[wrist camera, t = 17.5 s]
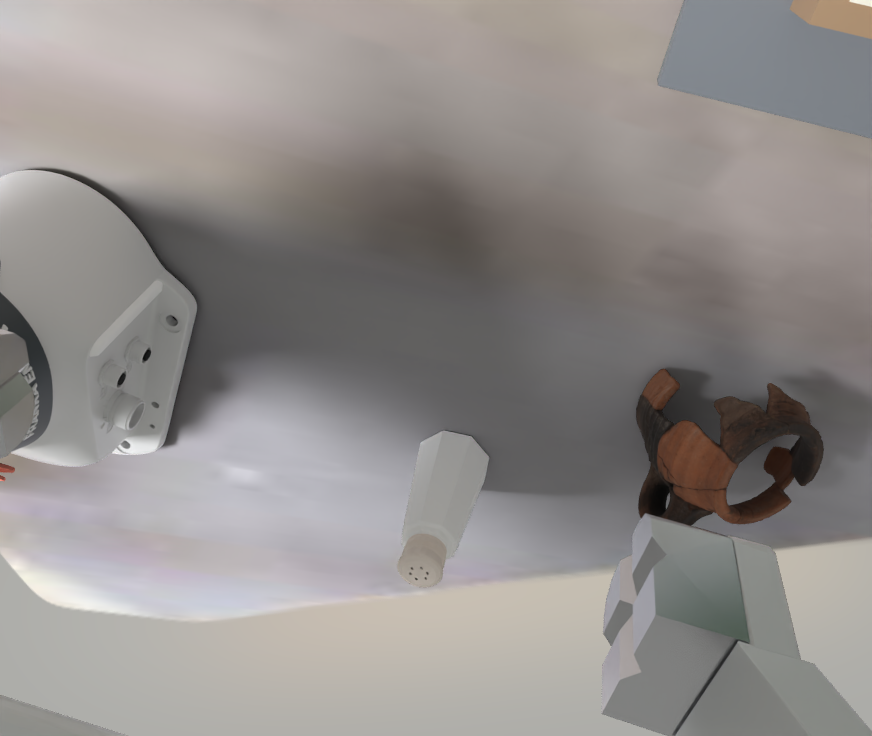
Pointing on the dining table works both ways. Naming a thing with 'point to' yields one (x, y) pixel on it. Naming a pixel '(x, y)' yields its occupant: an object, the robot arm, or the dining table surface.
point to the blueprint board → (778, 58)
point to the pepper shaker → (440, 504)
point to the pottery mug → (721, 455)
